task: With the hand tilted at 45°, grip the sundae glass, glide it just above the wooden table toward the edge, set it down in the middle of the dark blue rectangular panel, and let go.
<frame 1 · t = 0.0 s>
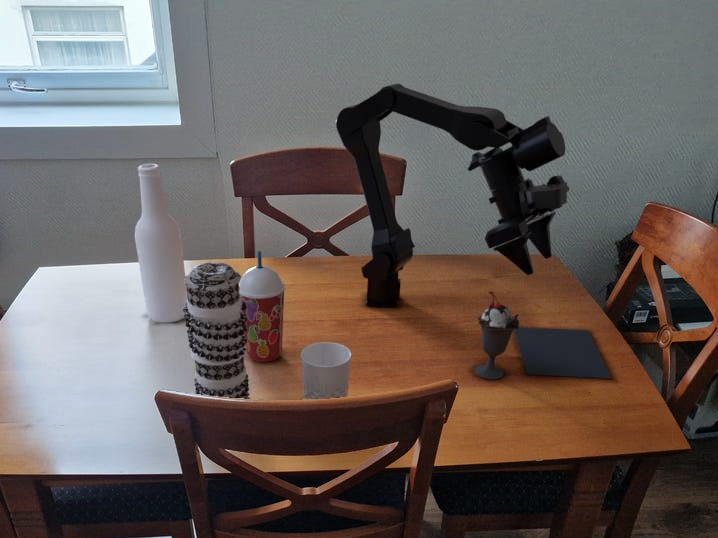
hand: (540, 265, 116), 15 cm above the table, tool tilted 35°, fingers open, 9 cm apart
sundae: (488, 373, 115), on the table
dark blue rectangular panel: (559, 351, 120), on the table
smoothie: (264, 356, 122), on the table
alcohol: (168, 315, 137), on the table
decorative candle: (224, 415, 106), on the table
white cup: (325, 408, 107), on the table
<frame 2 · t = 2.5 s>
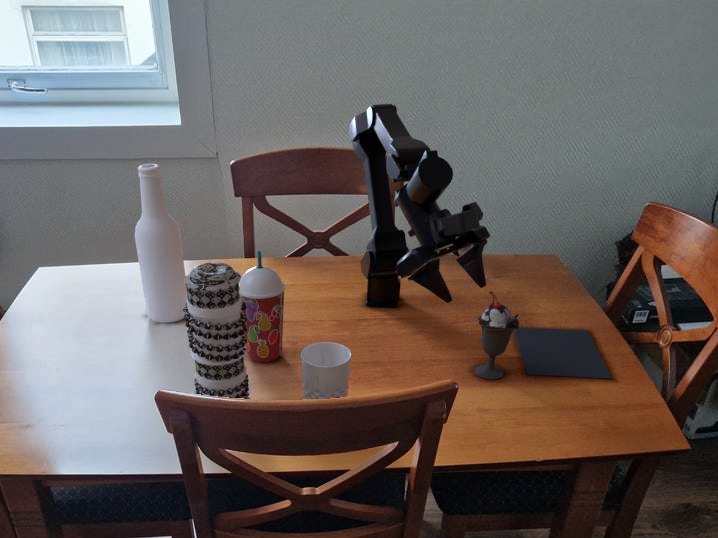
hand: (467, 294, 112), 13 cm above the table, tool tilted 45°, fingers open, 9 cm apart
nothing on the table moved.
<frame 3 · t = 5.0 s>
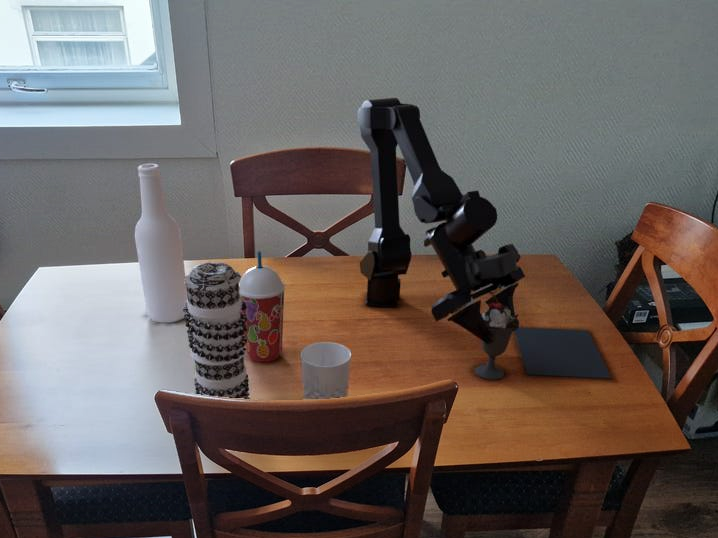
hand: (502, 336, 110), 8 cm above the table, tool tilted 45°, fingers closed on sundae, 6 cm apart
sundae: (488, 373, 115), on the table, touching gripper
everything else where it was.
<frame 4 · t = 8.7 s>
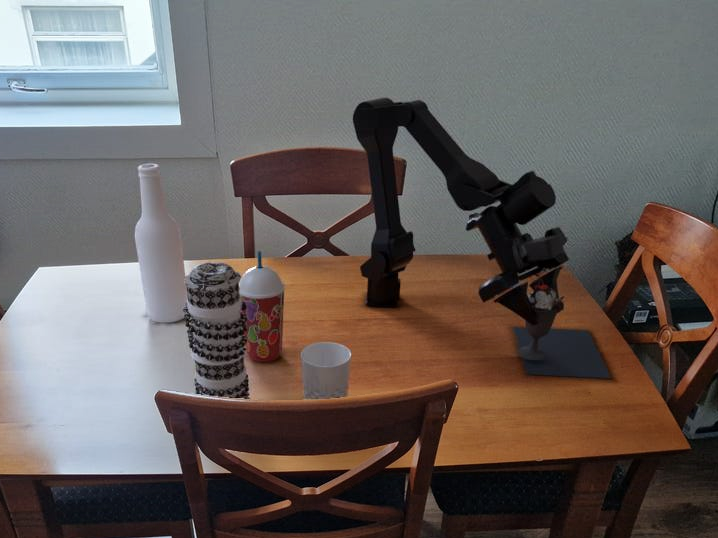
hand: (547, 318, 112), 9 cm above the table, tool tilted 45°, fingers closed on sundae, 6 cm apart
sundae: (531, 354, 118), point 1 cm above the table, touching gripper
everything else where it was.
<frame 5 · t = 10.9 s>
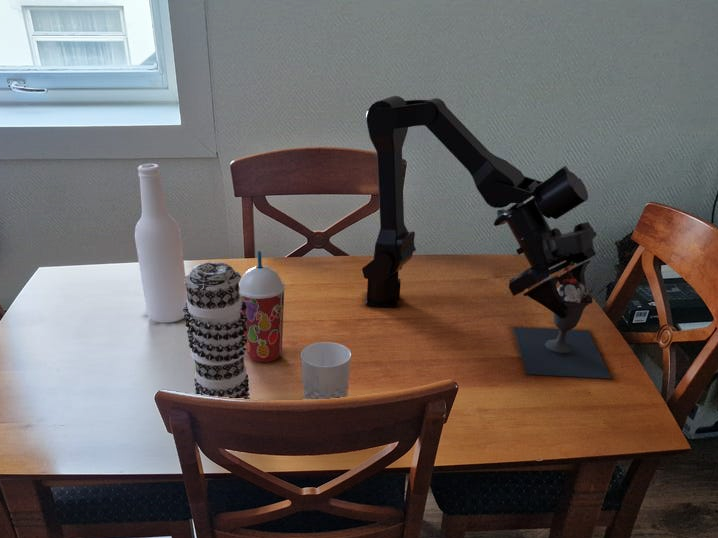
hand: (575, 311, 115), 9 cm above the table, tool tilted 45°, fingers closed on sundae, 6 cm apart
sundae: (558, 347, 120), point 1 cm above the table, touching gripper
everything else where it was.
when the fingers open (8 cm above the table, at t = 12.5 s): sundae stays where it is, resting on dark blue rectangular panel.
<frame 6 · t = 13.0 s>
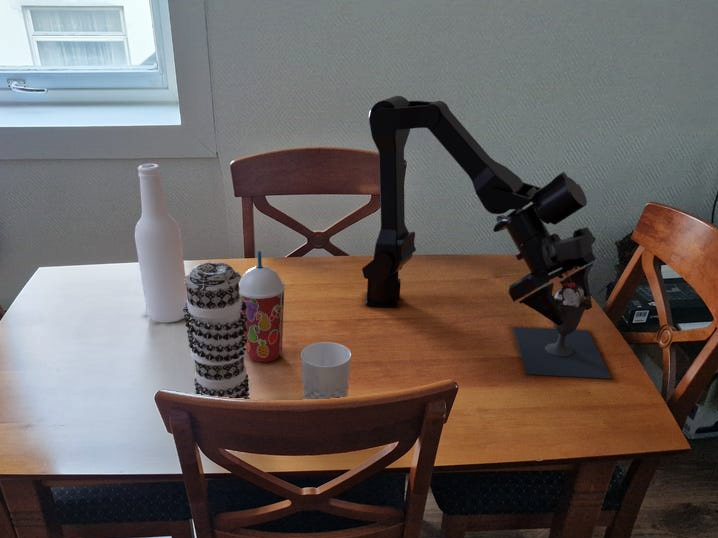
hand: (575, 316, 115), 8 cm above the table, tool tilted 45°, fingers open, 9 cm apart
sundae: (558, 351, 120), resting on dark blue rectangular panel
everything else where it was.
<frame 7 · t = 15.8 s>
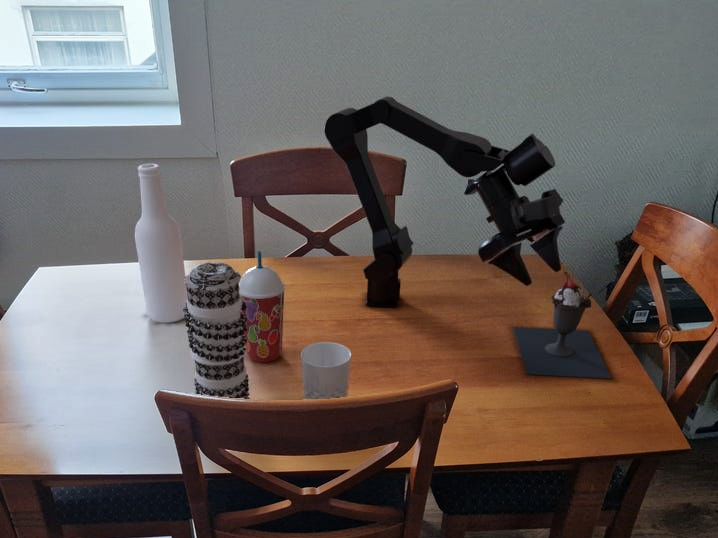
hand: (544, 277, 117), 13 cm above the table, tool tilted 45°, fingers open, 9 cm apart
nothing on the table moved.
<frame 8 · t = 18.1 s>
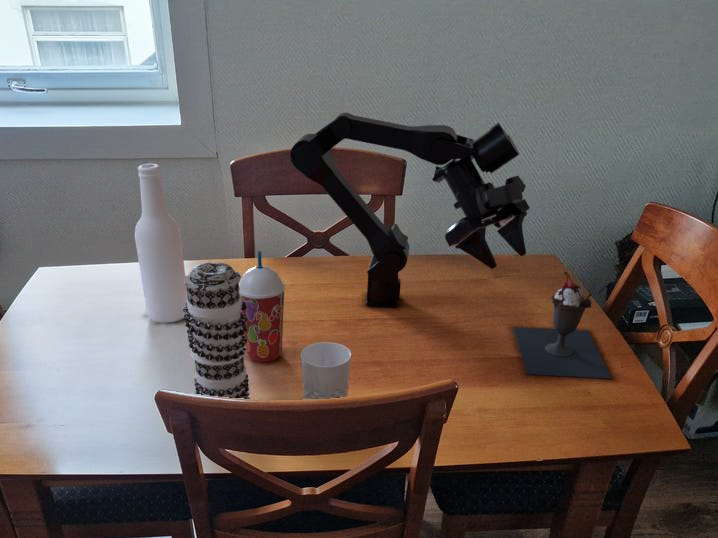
hand: (509, 261, 121), 14 cm above the table, tool tilted 45°, fingers open, 9 cm apart
nothing on the table moved.
at the end: sundae inside the target area (0.2 cm from its centre), resting on dark blue rectangular panel; sundae tilted 0°; the gripper is holding nothing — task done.
